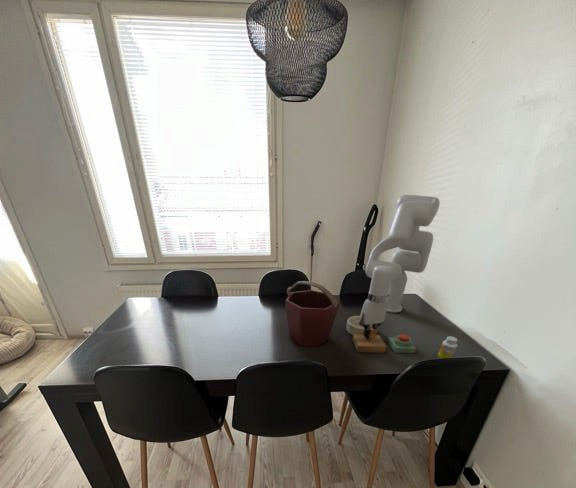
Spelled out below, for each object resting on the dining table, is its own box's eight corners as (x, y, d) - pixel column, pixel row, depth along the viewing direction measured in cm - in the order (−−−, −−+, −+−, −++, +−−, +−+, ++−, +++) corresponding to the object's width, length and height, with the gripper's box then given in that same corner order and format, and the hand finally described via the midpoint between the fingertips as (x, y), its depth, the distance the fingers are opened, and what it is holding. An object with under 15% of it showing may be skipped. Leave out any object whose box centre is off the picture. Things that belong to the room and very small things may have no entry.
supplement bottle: (438, 354, 127) (447, 333, 121) (452, 359, 124) (461, 338, 119) (434, 359, 124) (443, 338, 118) (448, 364, 121) (457, 343, 115)
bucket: (274, 332, 138) (275, 280, 124) (309, 321, 149) (314, 272, 135) (308, 355, 122) (313, 298, 108) (344, 341, 134) (354, 288, 120)
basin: (343, 324, 148) (345, 315, 146) (371, 325, 149) (374, 316, 146) (349, 338, 136) (350, 328, 133) (379, 339, 137) (382, 329, 134)
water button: (396, 337, 131) (397, 333, 130) (406, 337, 132) (407, 334, 131) (399, 342, 128) (400, 338, 127) (409, 342, 128) (410, 338, 127)
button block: (387, 341, 136) (389, 333, 133) (406, 341, 136) (409, 334, 134) (394, 352, 127) (396, 344, 125) (414, 352, 128) (417, 345, 125)
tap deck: (351, 337, 137) (352, 331, 136) (376, 337, 138) (378, 331, 136) (357, 352, 126) (358, 345, 125) (384, 352, 127) (386, 346, 125)
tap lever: (362, 334, 134) (364, 323, 131) (365, 333, 134) (367, 323, 131) (371, 342, 128) (373, 331, 125) (374, 341, 128) (377, 331, 125)
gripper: (388, 292, 125) (379, 331, 136) (355, 295, 121) (348, 335, 131) (399, 299, 120) (388, 338, 130) (365, 302, 115) (357, 343, 126)
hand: (368, 336), depth 131 cm, fingers closed on tap lever, 2 cm apart
